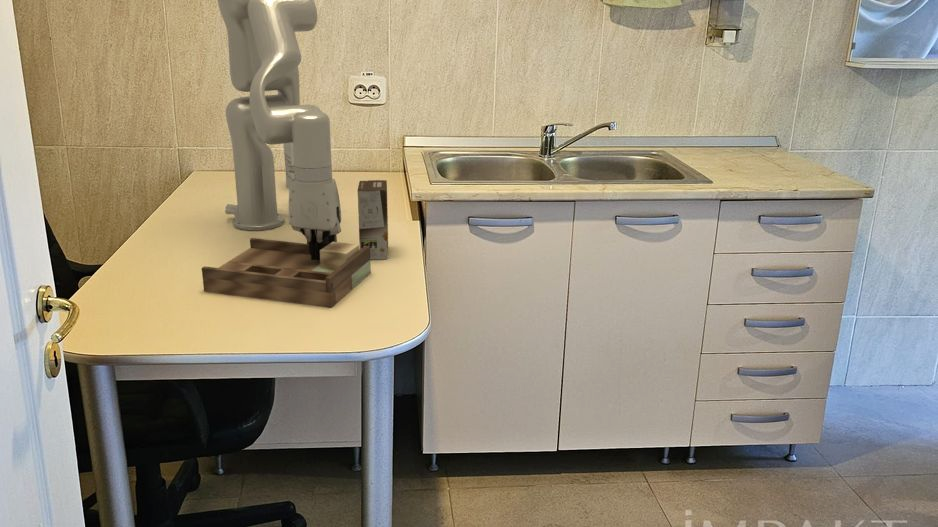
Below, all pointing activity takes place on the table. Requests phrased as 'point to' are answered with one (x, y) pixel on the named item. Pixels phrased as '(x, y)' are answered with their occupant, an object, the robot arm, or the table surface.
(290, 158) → the supplement box
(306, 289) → the box
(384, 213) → the coffee box
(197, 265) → the table surface
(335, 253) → the maple block
